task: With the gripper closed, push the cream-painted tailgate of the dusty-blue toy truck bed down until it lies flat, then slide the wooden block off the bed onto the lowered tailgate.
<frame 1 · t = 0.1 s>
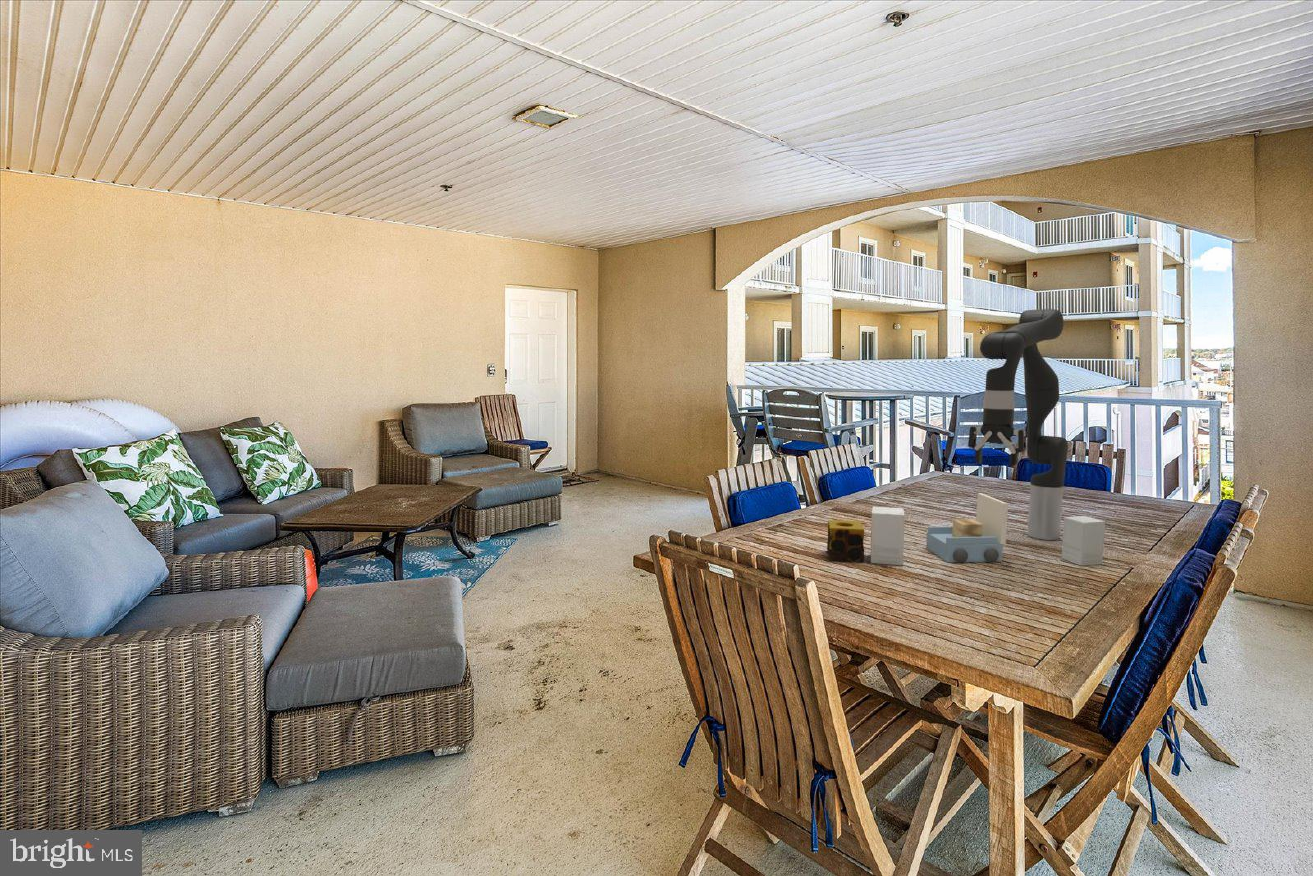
hand: (995, 465, 182), 29 cm above the table, fingers open, 8 cm apart
supplement box 2: (886, 560, 192), on the table
truck bed: (962, 554, 197), on the table
supplement box: (1081, 562, 189), on the table
yellow spotted cube: (844, 557, 195), on the table
wooden block: (966, 538, 196), point 5 cm above the table, touching truck bed
tailgate: (991, 518, 195), point 11 cm above the table, hinge at 0.0°
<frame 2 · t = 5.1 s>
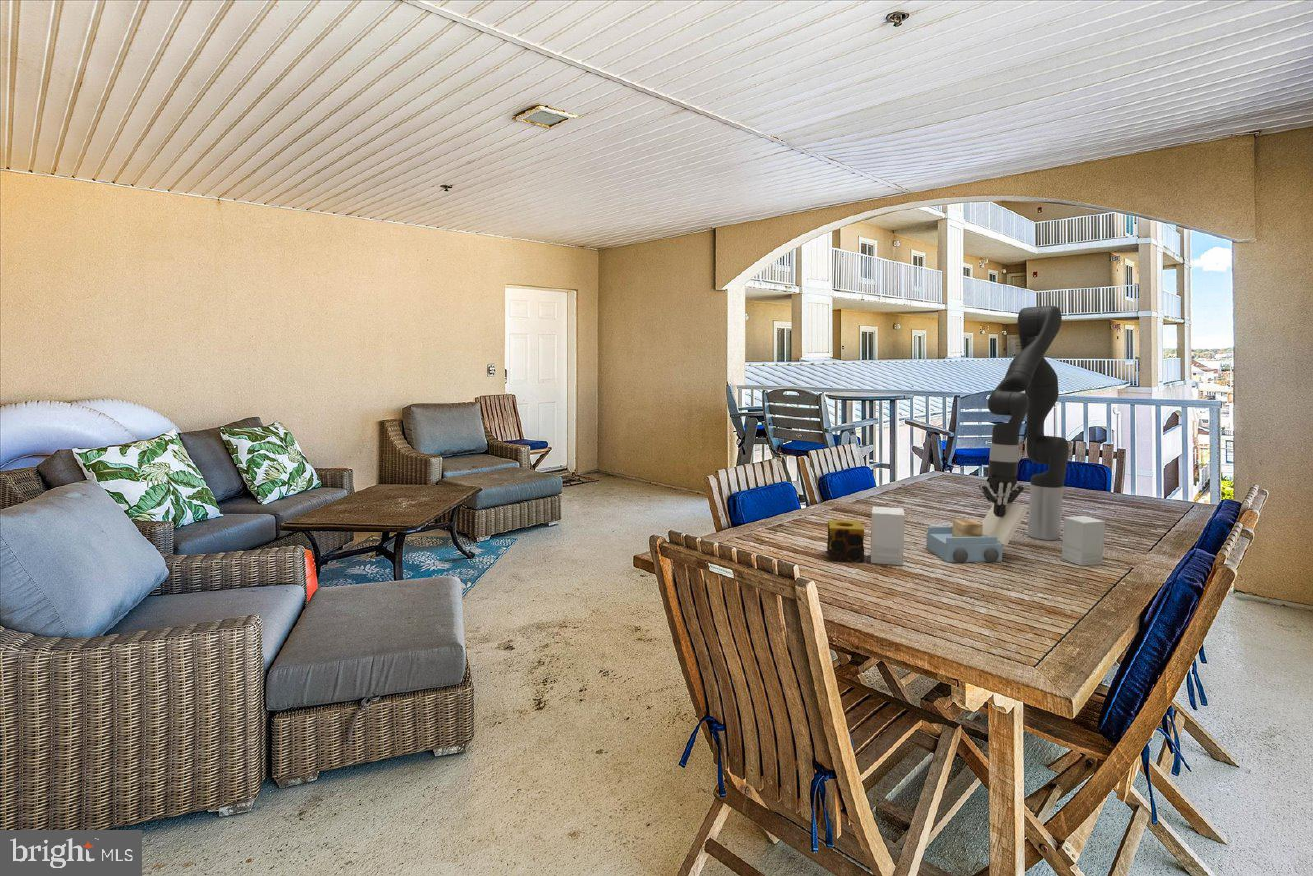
hand: (998, 516, 195), 12 cm above the table, fingers closed
tailgate: (1001, 520, 196), point 10 cm above the table, hinge at 28.7°, touching gripper
everything else where it was.
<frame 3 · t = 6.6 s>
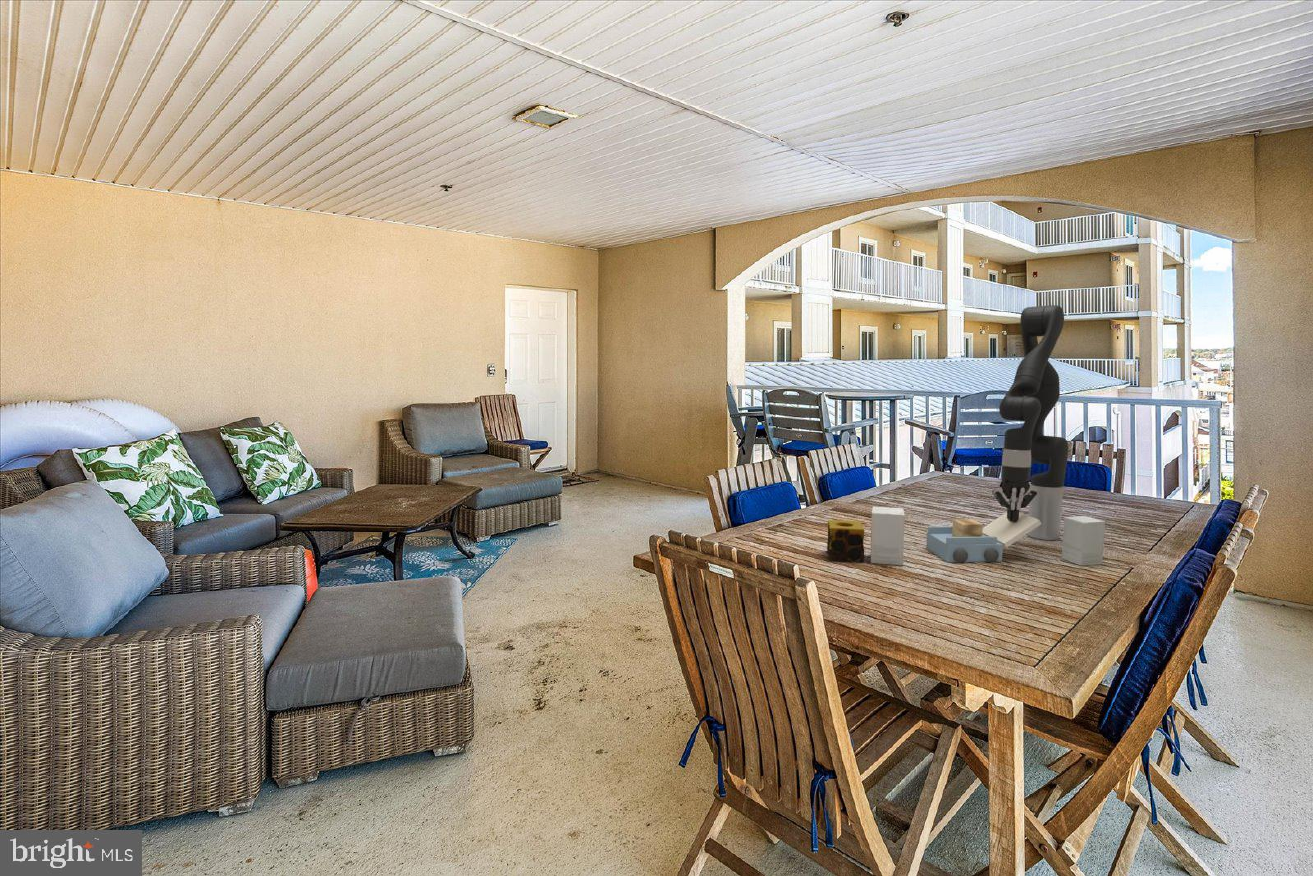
hand: (1012, 521, 196), 10 cm above the table, fingers closed
tailgate: (1009, 527, 196), point 8 cm above the table, hinge at 55.5°, touching gripper
everything else where it was.
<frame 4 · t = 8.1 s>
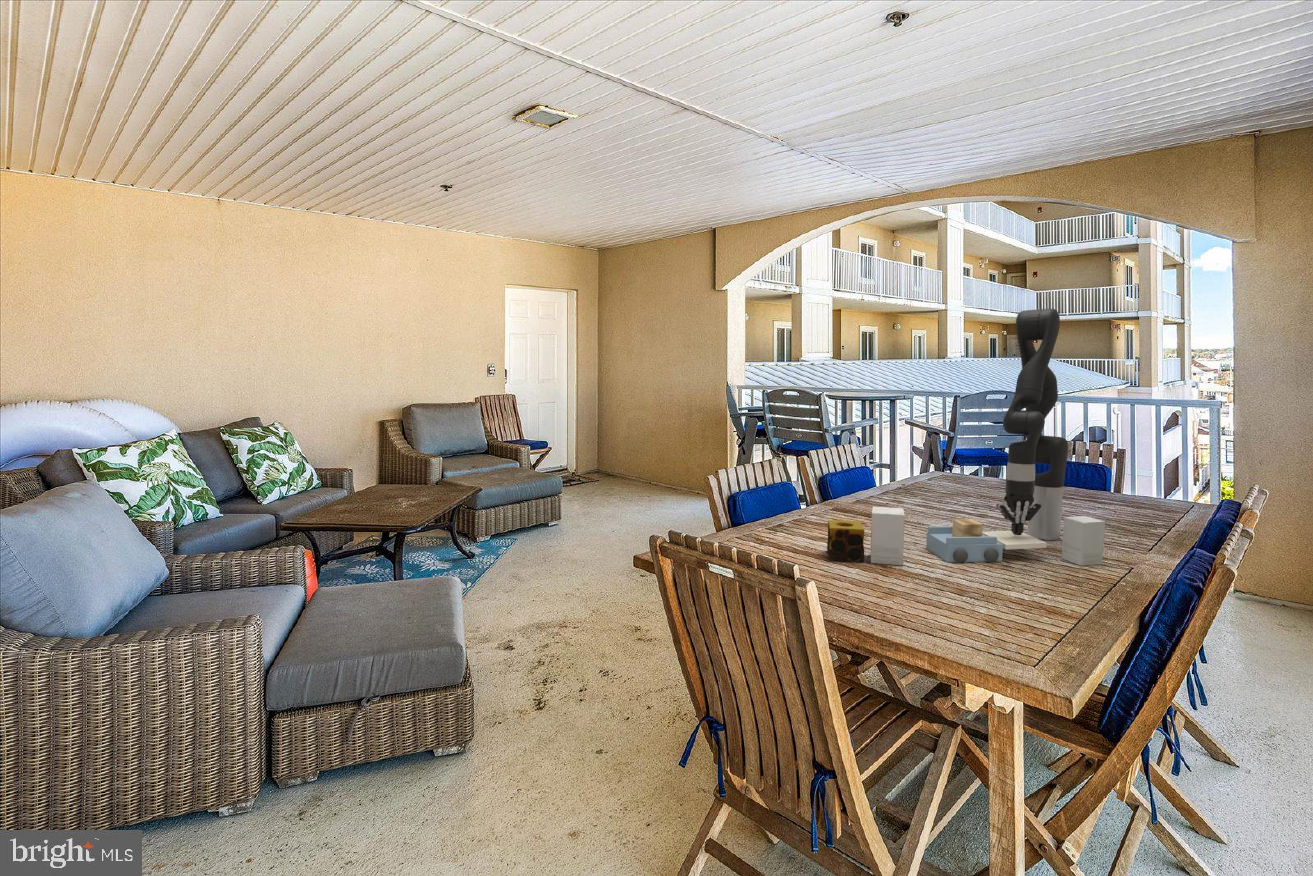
hand: (1016, 534, 196), 6 cm above the table, fingers closed
tailgate: (1012, 539, 197), point 4 cm above the table, hinge at 88.5°
everything else where it was.
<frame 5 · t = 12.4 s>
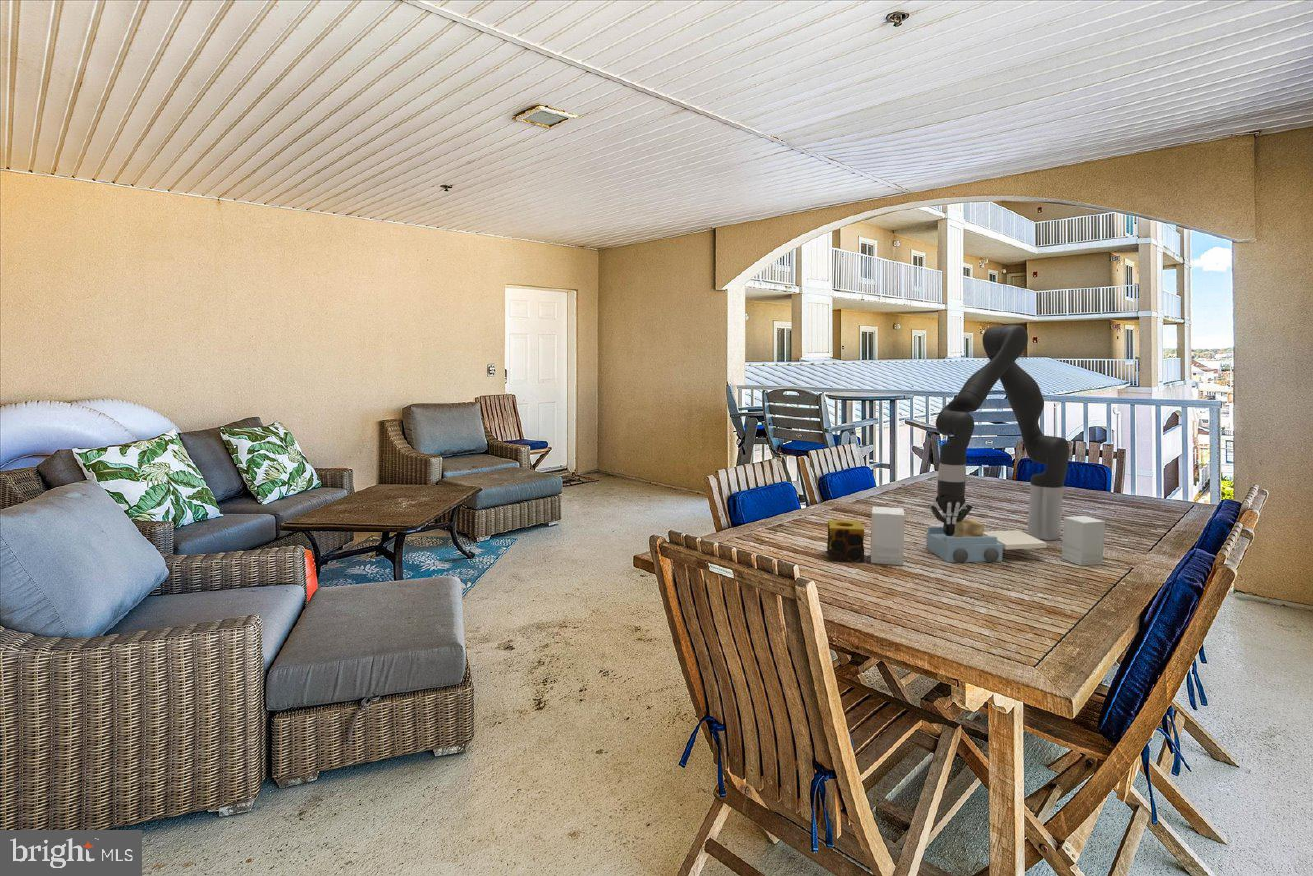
hand: (948, 535, 196), 6 cm above the table, fingers closed
wooden block: (967, 538, 196), point 5 cm above the table, touching gripper
everything else where it was.
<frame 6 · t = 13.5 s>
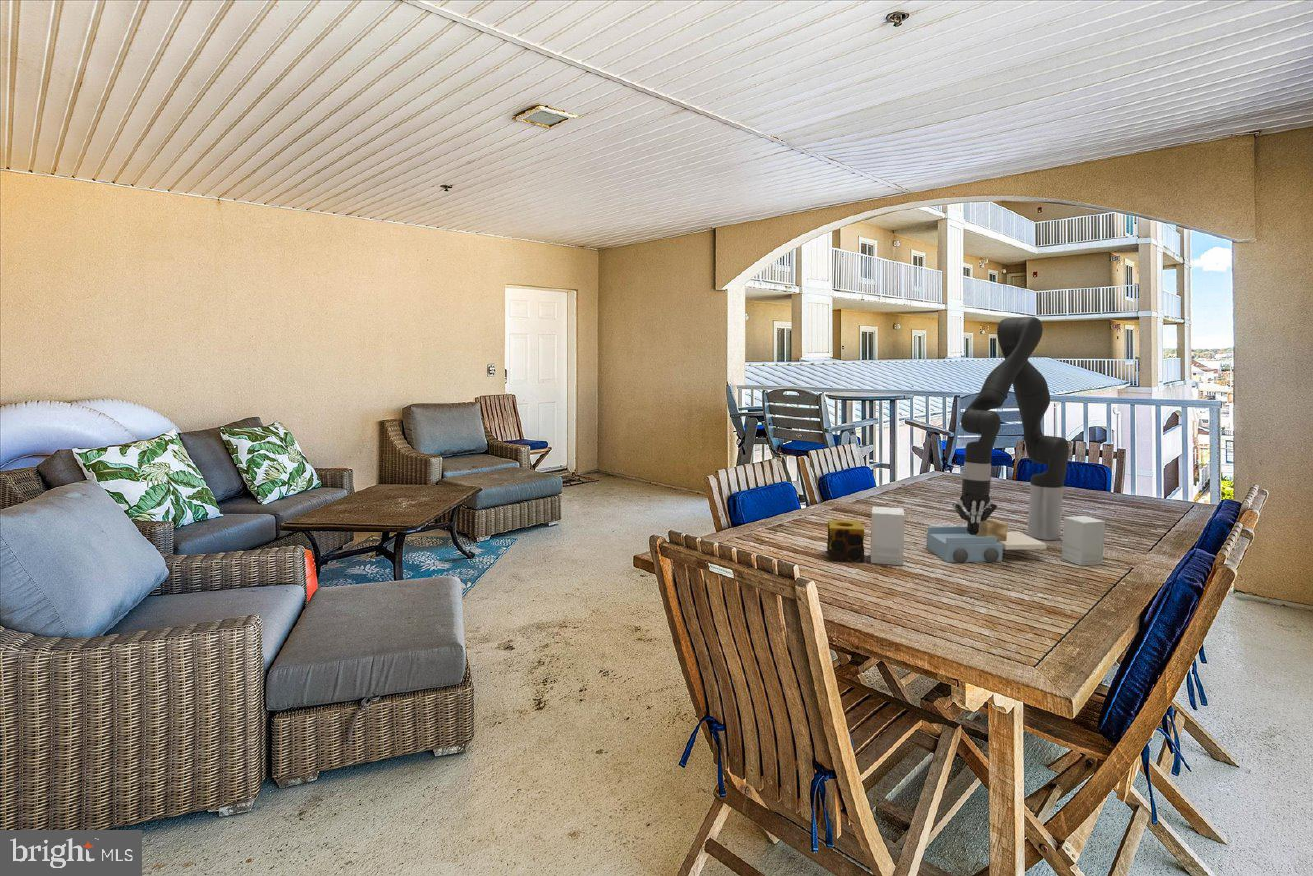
hand: (972, 534, 196), 6 cm above the table, fingers closed
wooden block: (990, 538, 196), point 5 cm above the table, touching gripper, tailgate, truck bed
tailgate: (1012, 540, 197), point 4 cm above the table, hinge at 90.2°, touching wooden block
everything else where it was.
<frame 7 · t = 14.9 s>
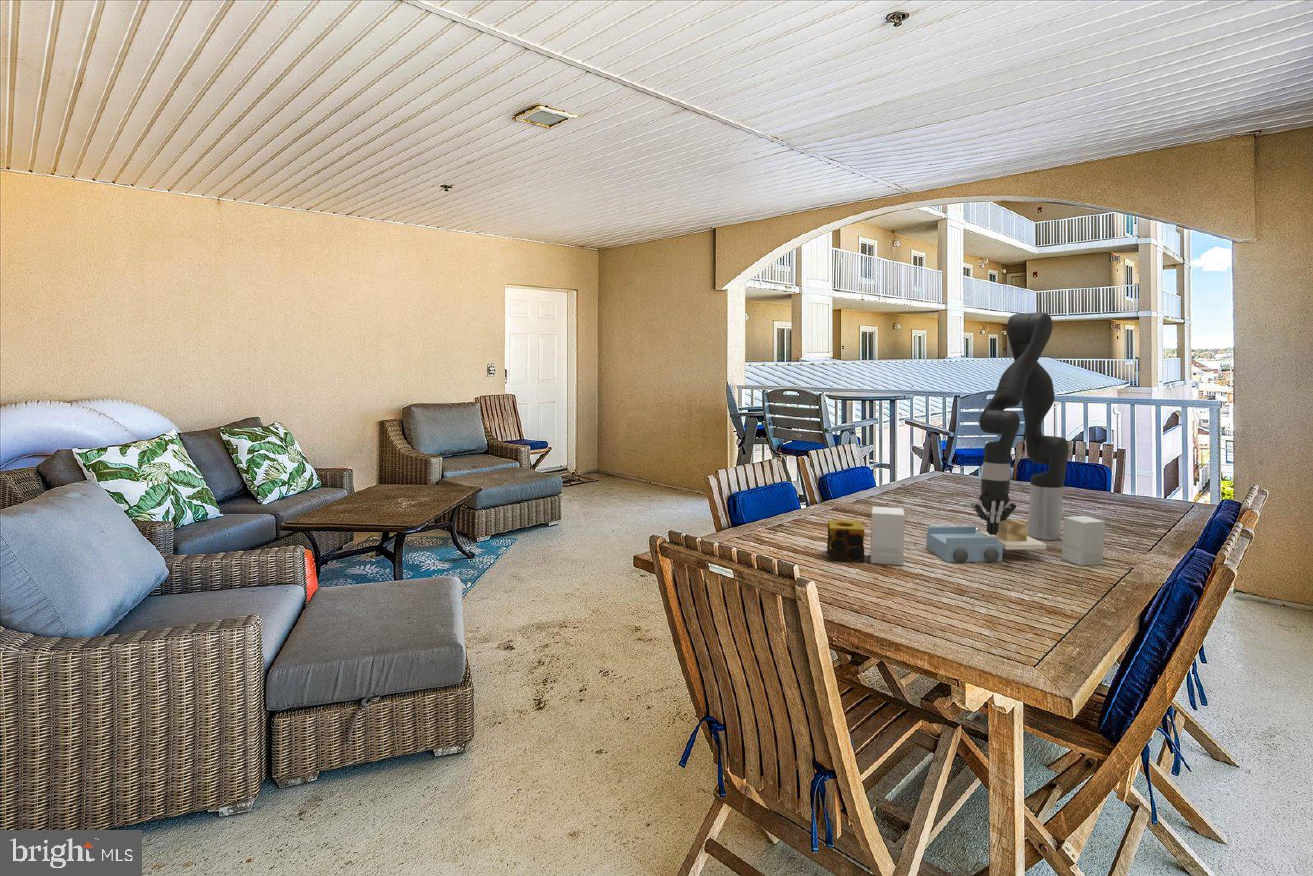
hand: (991, 534, 196), 6 cm above the table, fingers closed
wooden block: (1010, 538, 196), point 5 cm above the table, touching gripper
tailgate: (1012, 540, 197), point 4 cm above the table, hinge at 90.4°
everything else where it was.
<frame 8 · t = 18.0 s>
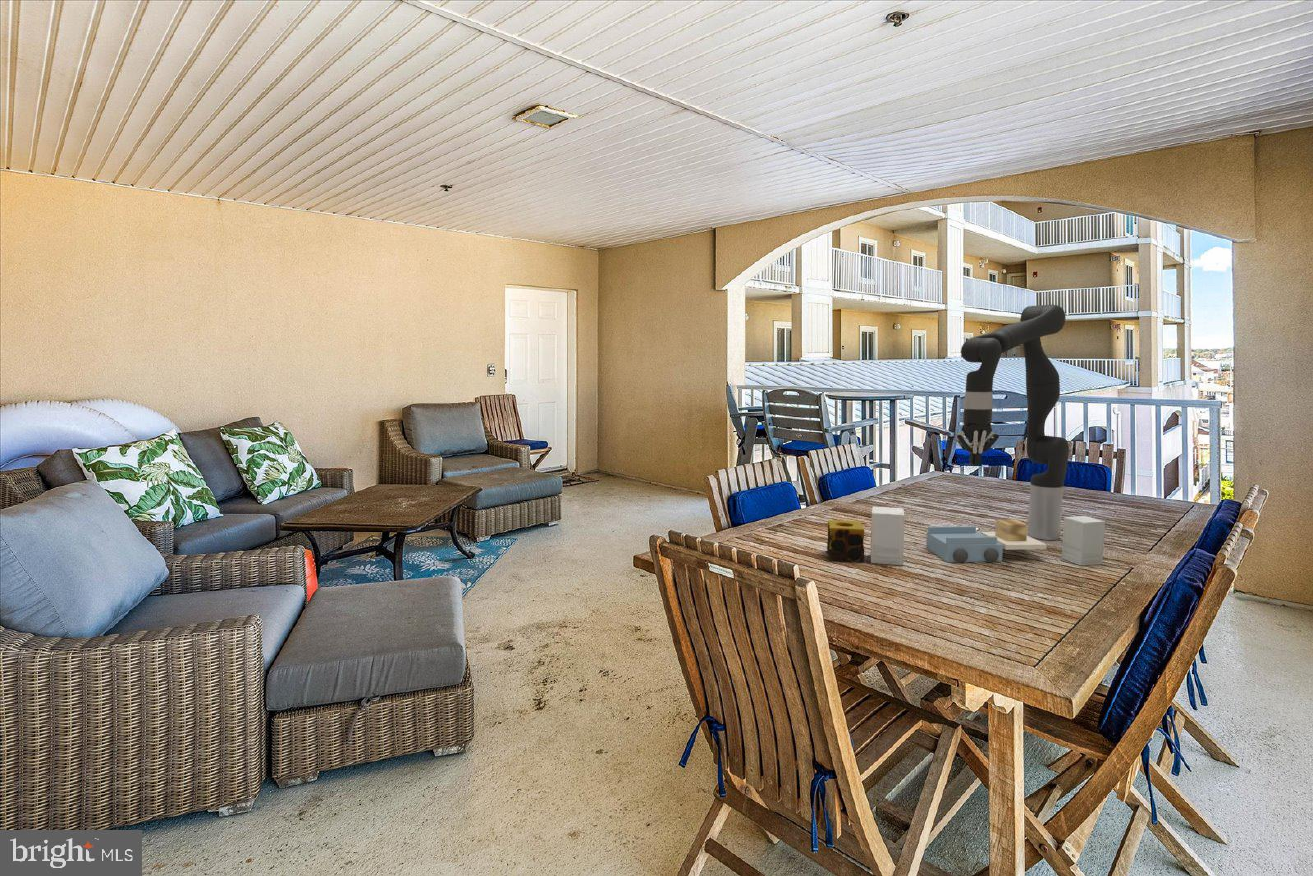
hand: (974, 465, 193), 27 cm above the table, fingers closed
wooden block: (1010, 538, 196), point 5 cm above the table, touching tailgate
tailgate: (1012, 540, 197), point 4 cm above the table, hinge at 90.4°, touching wooden block
everything else where it was.
at the end: tailgate at +90° (first picture: +0°); wooden block inside the target area (0.2 cm from its centre), point 4.9 cm above the table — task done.
